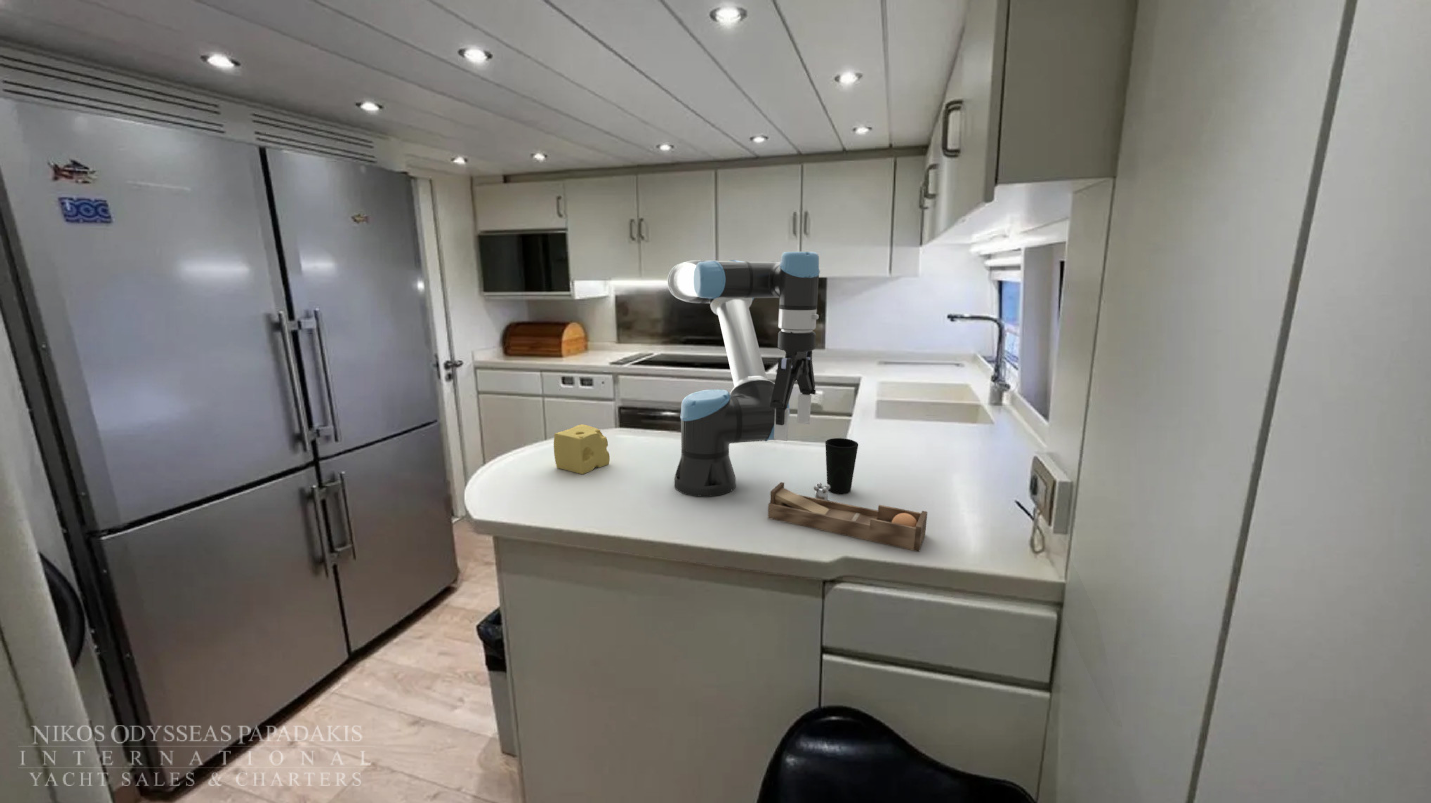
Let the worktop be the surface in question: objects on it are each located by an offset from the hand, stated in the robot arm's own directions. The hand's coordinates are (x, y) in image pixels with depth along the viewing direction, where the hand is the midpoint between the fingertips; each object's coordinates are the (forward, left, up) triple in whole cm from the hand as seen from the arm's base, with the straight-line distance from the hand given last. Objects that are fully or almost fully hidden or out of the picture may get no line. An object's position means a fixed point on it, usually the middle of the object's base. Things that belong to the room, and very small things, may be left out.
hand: (792, 431), depth 119 cm
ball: (+24, 0, -16) cm, 29 cm away
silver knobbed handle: (+5, +8, -19) cm, 21 cm away
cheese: (-60, +2, -19) cm, 63 cm away
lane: (+12, 0, -19) cm, 22 cm away
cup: (+6, +19, -19) cm, 27 cm away
